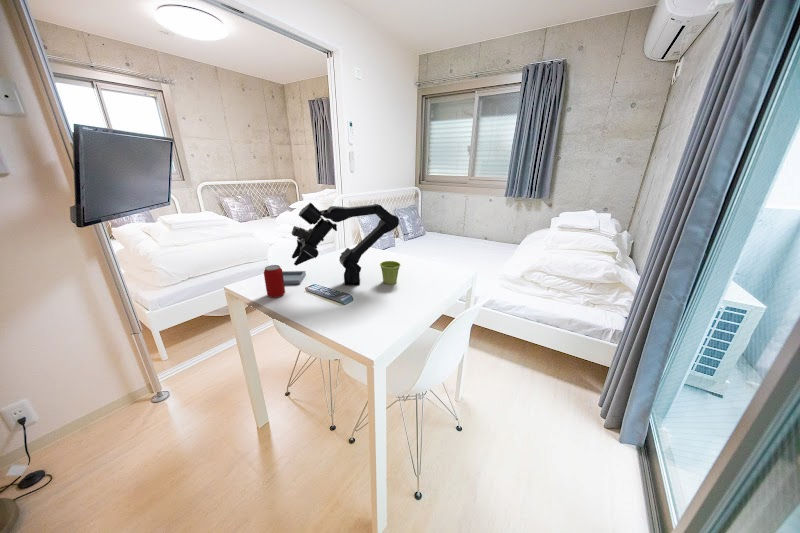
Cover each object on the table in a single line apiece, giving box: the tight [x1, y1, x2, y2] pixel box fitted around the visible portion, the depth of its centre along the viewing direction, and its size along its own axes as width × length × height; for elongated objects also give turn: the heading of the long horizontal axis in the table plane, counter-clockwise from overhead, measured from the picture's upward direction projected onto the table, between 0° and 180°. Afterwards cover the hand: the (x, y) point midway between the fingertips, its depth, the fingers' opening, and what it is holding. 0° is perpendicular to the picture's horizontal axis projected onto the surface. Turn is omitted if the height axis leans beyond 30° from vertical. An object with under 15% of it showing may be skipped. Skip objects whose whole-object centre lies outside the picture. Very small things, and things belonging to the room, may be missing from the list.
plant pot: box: [379, 260, 402, 285], centre depth 124 cm, size 9×9×9 cm
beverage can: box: [263, 264, 286, 298], centre depth 109 cm, size 7×7×12 cm
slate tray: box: [282, 270, 307, 286], centre depth 125 cm, size 12×12×2 cm
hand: (293, 261), depth 110 cm, fingers open, 9 cm apart
